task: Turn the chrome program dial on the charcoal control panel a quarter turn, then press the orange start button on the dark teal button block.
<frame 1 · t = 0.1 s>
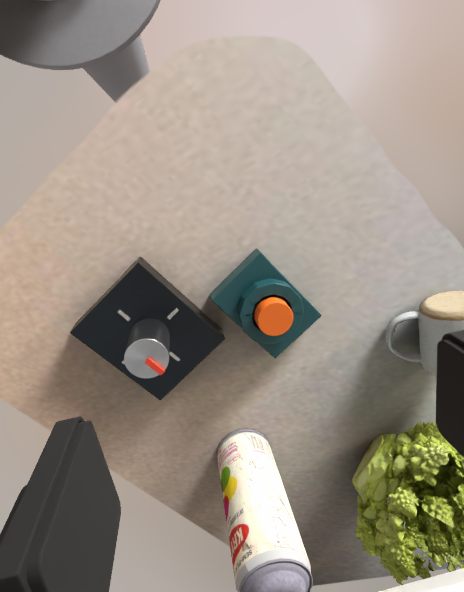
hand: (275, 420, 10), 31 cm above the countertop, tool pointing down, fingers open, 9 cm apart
dial: (148, 347, 37), point 5 cm above the countertop, hinge at 0.0°
aerosol can: (243, 450, 49), on the countertop
ceramic mug: (423, 325, 47), on the countertop
start button: (273, 316, 39), point 4 cm above the countertop, slide at 0.1 cm
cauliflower: (389, 458, 53), on the countertop
button block: (263, 301, 43), on the countertop
control panel: (151, 326, 42), on the countertop
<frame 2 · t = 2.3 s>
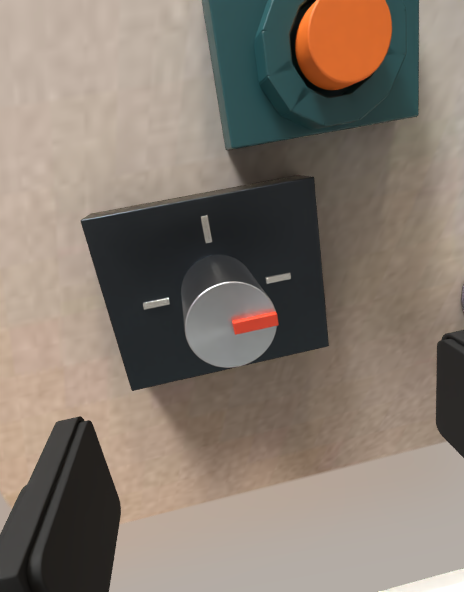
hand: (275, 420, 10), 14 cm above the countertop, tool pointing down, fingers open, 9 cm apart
dial: (224, 307, 19), point 5 cm above the countertop, hinge at 0.0°
start button: (341, 39, 16), point 4 cm above the countertop, slide at 0.1 cm
button block: (306, 64, 20), on the countertop
control panel: (213, 277, 24), on the countertop
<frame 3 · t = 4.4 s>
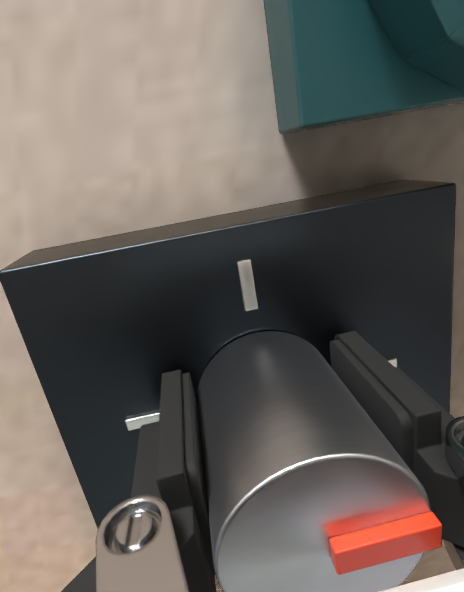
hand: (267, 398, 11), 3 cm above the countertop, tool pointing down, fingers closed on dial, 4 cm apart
dial: (289, 454, 9), point 5 cm above the countertop, hinge at 0.1°, touching gripper
control panel: (249, 352, 14), on the countertop
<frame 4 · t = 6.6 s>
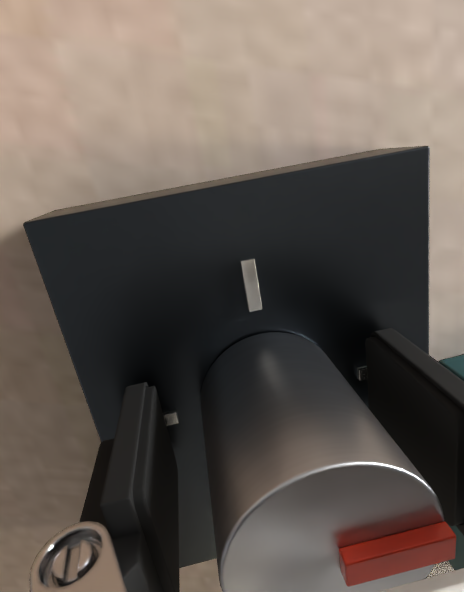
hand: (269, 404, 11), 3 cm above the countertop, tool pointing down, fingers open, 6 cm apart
dial: (295, 459, 9), point 5 cm above the countertop, hinge at 89.2°
control panel: (252, 353, 14), on the countertop
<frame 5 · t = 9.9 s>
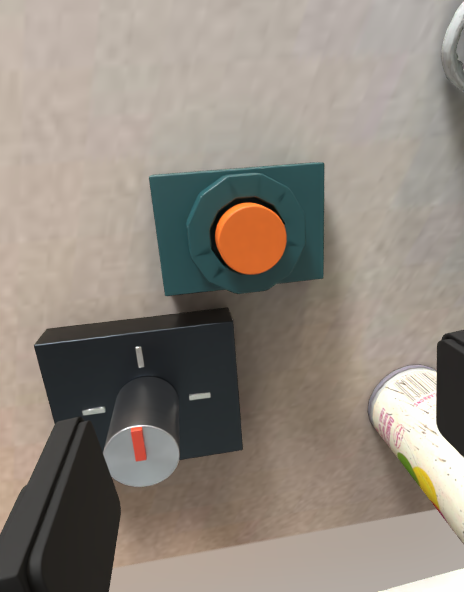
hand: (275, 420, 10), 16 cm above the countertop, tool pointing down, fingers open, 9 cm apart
dial: (144, 429, 23), point 5 cm above the countertop, hinge at 89.2°
aerosol can: (406, 400, 32), on the countertop
start button: (249, 238, 21), point 4 cm above the countertop, slide at 0.1 cm
button block: (237, 225, 25), on the countertop
control panel: (150, 382, 28), on the countertop
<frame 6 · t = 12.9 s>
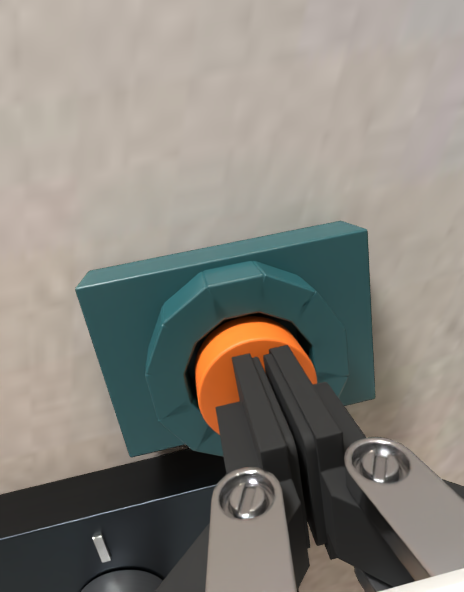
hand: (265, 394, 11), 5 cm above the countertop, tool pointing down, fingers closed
start button: (253, 378, 12), point 4 cm above the countertop, slide at -0.2 cm, touching gripper
button block: (233, 326, 16), on the countertop
control panel: (130, 547, 19), on the countertop
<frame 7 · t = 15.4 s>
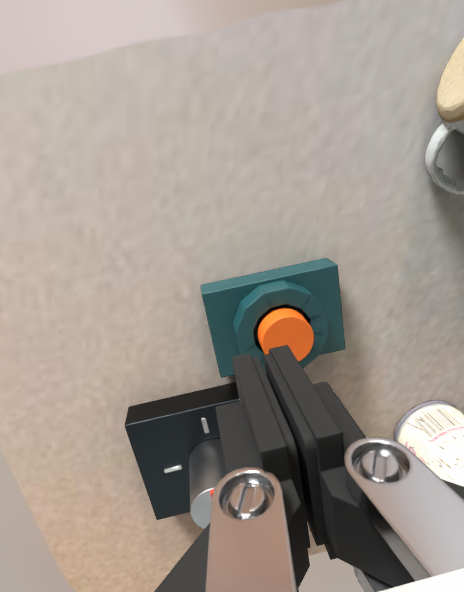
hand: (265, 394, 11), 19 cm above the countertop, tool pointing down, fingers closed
dial: (216, 483, 29), point 5 cm above the countertop, hinge at 89.2°
aerosol can: (426, 430, 37), on the countertop
start button: (285, 335, 27), point 4 cm above the countertop, slide at 0.1 cm
button block: (271, 312, 31), on the countertop
control panel: (211, 438, 34), on the countertop
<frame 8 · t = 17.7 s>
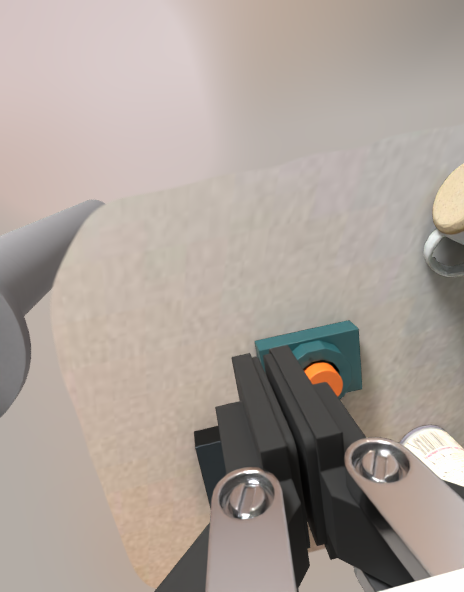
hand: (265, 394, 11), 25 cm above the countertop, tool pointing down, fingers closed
aerosol can: (421, 447, 47), on the countertop
ceramic mug: (459, 220, 38), on the countertop
start button: (321, 382, 36), point 4 cm above the countertop, slide at 0.1 cm
button block: (305, 360, 40), on the countertop
control panel: (255, 455, 43), on the countertop
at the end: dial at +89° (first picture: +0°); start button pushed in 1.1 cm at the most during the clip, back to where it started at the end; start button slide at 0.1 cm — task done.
